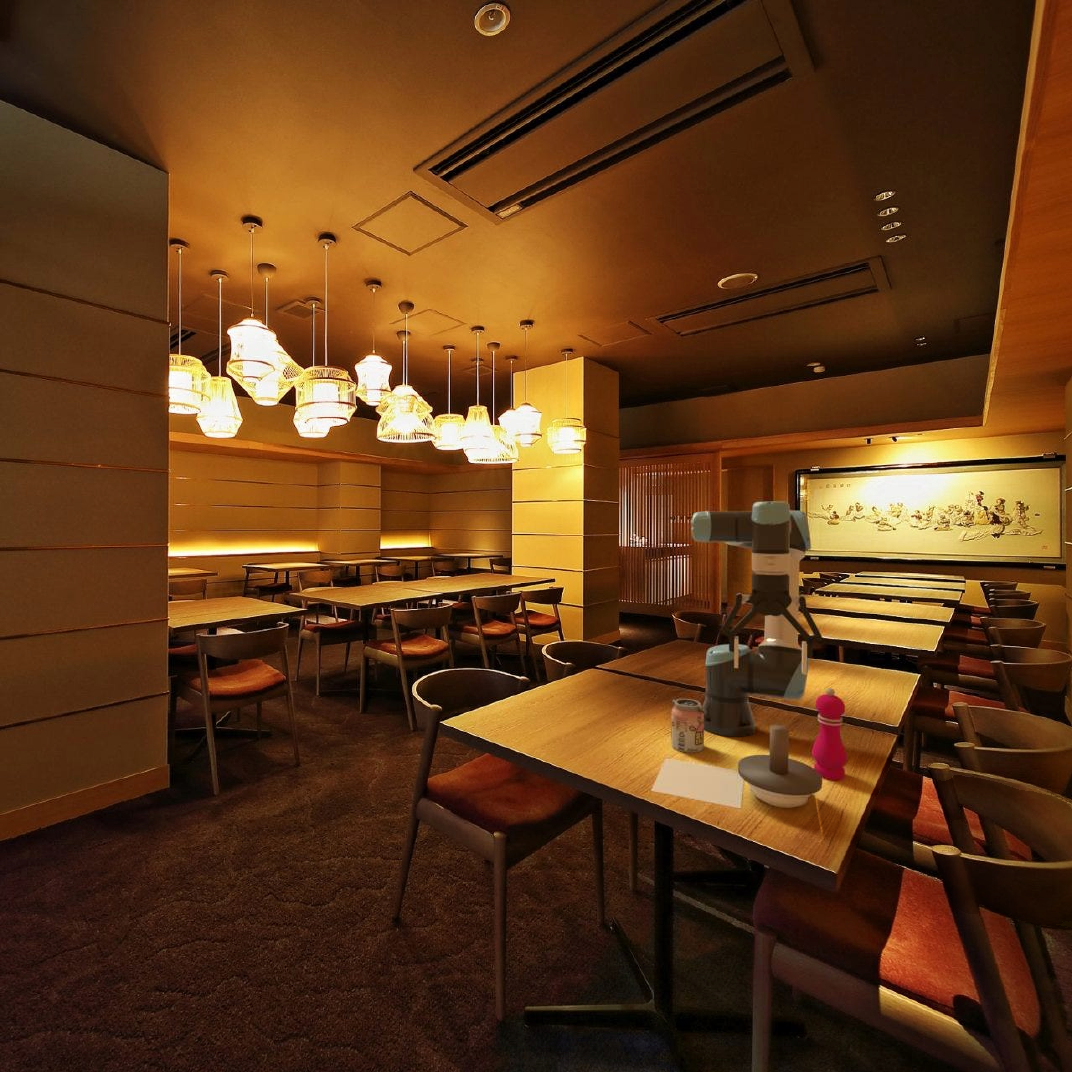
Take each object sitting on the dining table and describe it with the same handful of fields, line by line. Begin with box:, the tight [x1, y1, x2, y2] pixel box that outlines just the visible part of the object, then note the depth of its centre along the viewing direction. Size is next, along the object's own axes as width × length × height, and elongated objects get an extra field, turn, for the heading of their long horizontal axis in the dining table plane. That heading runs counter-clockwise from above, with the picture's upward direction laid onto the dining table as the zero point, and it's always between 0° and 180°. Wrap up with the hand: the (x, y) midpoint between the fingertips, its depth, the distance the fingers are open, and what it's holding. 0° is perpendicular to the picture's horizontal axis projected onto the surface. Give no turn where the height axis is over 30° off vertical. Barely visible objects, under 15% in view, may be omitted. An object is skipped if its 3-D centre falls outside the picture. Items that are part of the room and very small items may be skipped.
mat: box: [650, 758, 745, 810], centre depth 120 cm, size 18×18×1 cm
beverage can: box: [670, 698, 707, 754], centre depth 139 cm, size 9×8×12 cm
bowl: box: [746, 782, 813, 809], centre depth 113 cm, size 13×13×5 cm
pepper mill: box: [811, 687, 849, 781], centre depth 125 cm, size 7×7×20 cm
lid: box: [737, 724, 823, 795], centre depth 112 cm, size 16×16×10 cm
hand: (769, 669), depth 118 cm, fingers open, 13 cm apart
